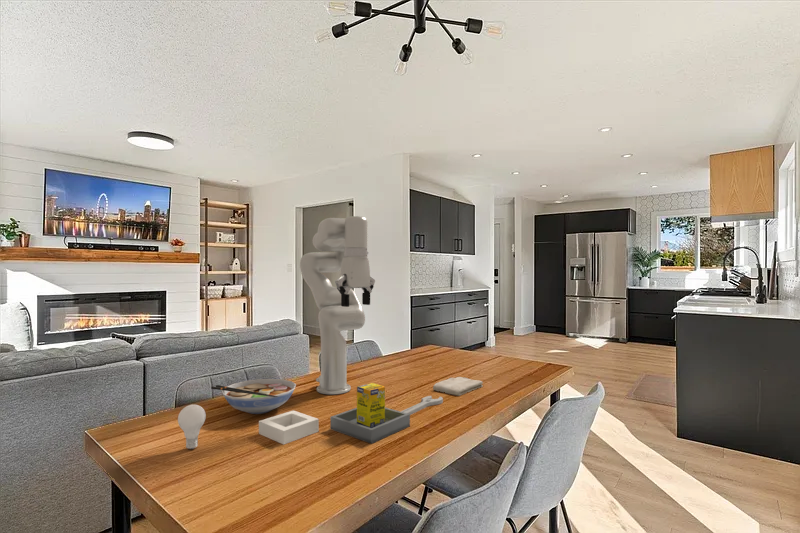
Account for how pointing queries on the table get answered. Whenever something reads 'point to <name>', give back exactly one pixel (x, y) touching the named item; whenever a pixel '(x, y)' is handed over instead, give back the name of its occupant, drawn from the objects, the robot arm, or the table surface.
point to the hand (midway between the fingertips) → (356, 305)
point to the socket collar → (288, 426)
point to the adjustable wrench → (423, 404)
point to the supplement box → (370, 405)
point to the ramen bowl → (257, 394)
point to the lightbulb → (191, 423)
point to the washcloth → (457, 385)
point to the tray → (349, 427)
